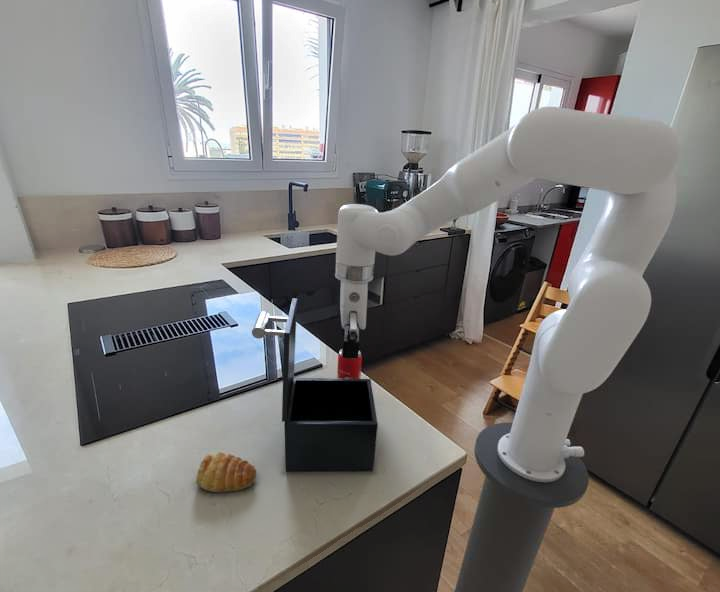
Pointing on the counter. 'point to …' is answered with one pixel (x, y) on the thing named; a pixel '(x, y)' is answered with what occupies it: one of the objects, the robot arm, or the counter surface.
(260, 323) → the bin lid
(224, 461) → the pastry
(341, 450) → the waste bin
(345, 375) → the beverage can
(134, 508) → the counter surface
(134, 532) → the counter surface
